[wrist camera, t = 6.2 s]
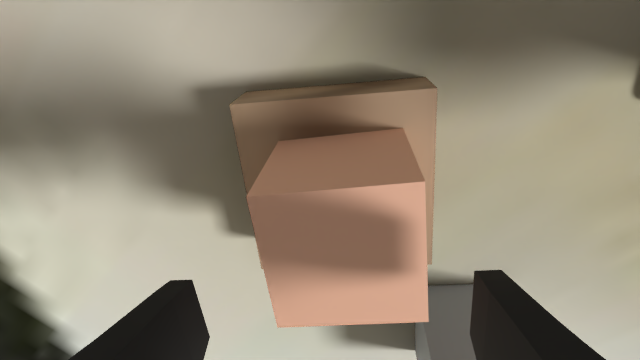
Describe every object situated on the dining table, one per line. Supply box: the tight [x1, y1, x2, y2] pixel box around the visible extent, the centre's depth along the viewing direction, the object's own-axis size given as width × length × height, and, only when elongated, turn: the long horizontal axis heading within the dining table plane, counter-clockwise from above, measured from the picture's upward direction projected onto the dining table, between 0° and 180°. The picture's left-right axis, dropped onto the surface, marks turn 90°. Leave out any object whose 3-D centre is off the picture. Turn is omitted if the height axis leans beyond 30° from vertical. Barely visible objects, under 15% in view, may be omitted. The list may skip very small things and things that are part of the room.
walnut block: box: [229, 77, 437, 269], centre depth 17 cm, size 8×8×3 cm
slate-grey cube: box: [415, 284, 476, 360], centre depth 19 cm, size 5×5×5 cm
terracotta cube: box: [246, 128, 429, 327], centre depth 14 cm, size 5×5×5 cm
